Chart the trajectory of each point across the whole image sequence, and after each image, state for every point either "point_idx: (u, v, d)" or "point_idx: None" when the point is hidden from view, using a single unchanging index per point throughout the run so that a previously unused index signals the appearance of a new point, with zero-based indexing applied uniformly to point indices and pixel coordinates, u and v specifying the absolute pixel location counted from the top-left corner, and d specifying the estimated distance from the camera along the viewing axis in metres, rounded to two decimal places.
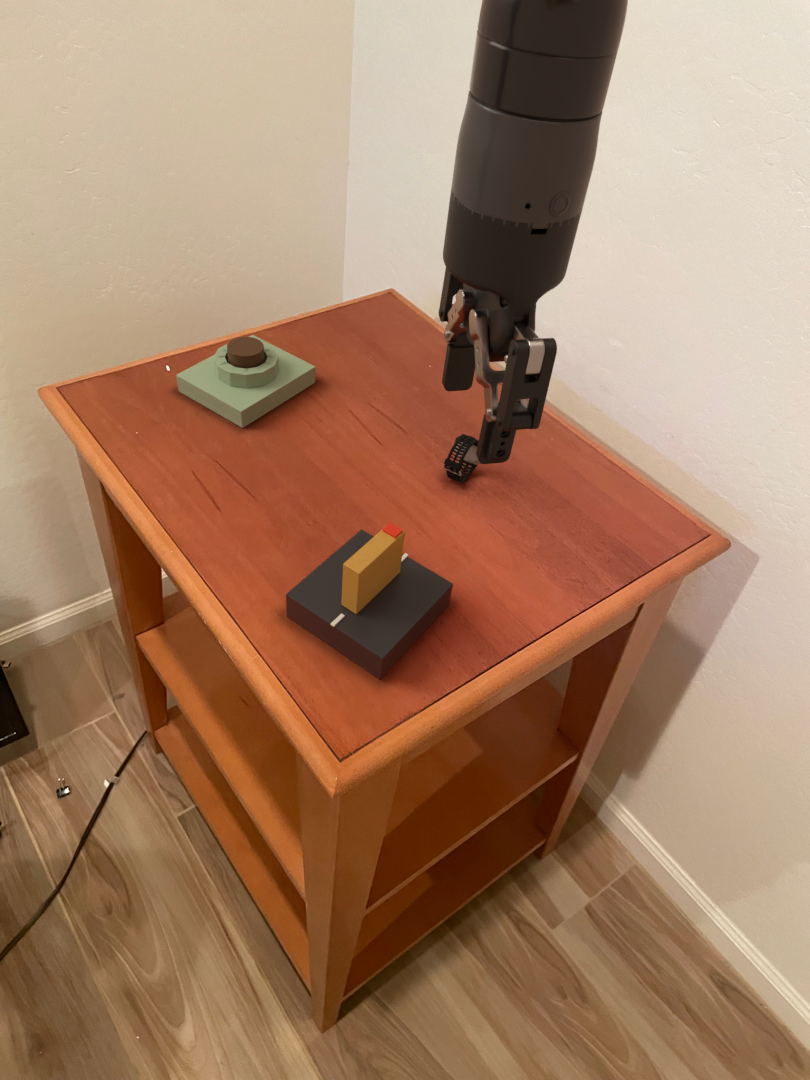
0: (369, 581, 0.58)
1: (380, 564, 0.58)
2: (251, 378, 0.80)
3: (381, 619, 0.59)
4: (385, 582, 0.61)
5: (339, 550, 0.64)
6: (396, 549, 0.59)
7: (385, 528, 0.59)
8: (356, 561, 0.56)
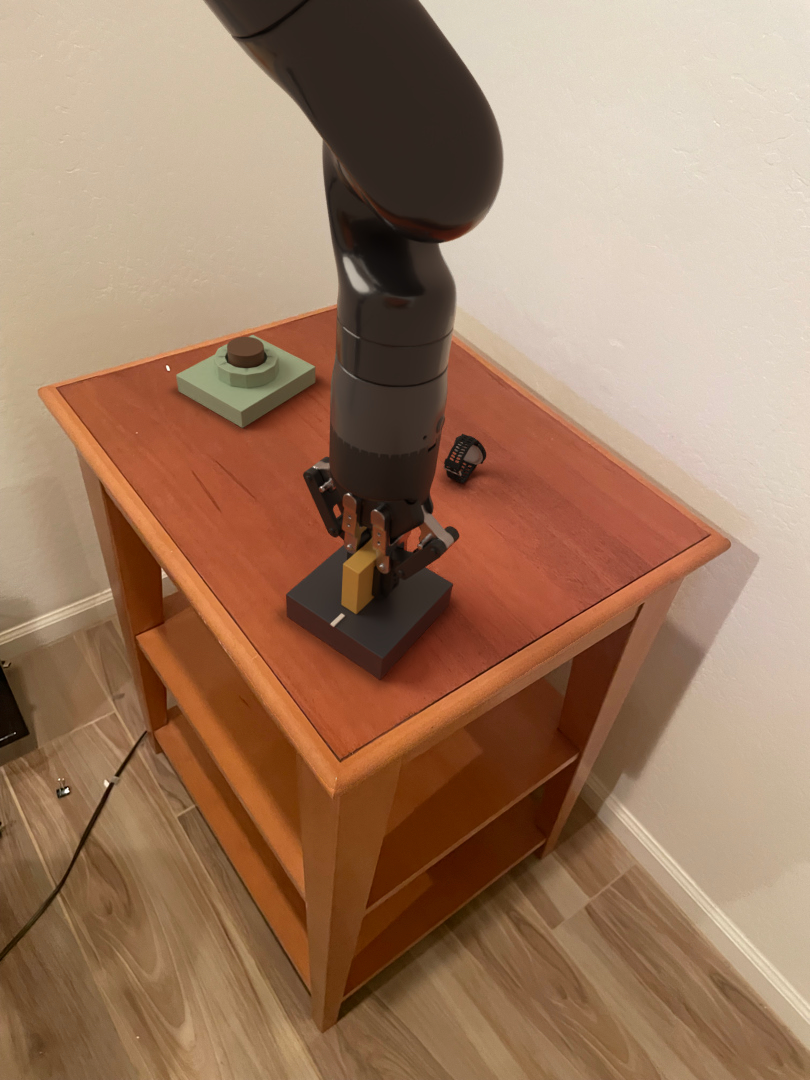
0: (369, 581, 0.58)
1: None
2: (251, 378, 0.80)
3: (381, 619, 0.59)
4: None
5: (339, 550, 0.64)
6: None
7: None
8: (356, 561, 0.56)
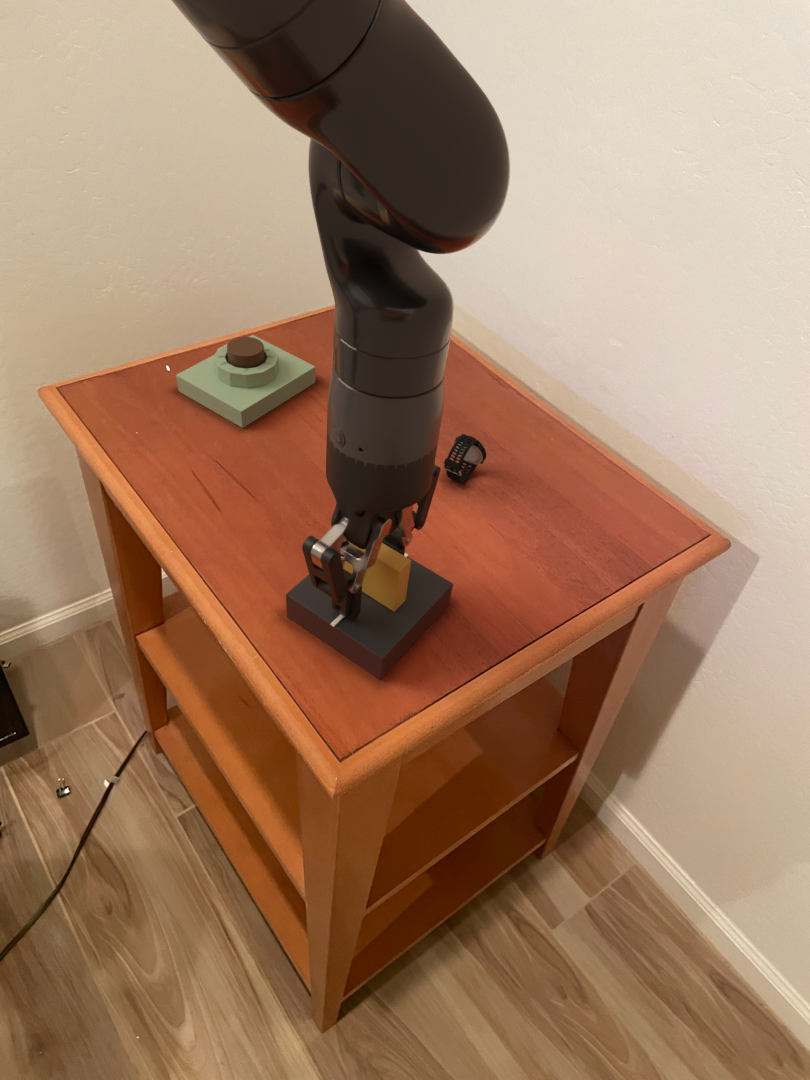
0: None
1: None
2: (251, 378, 0.80)
3: (381, 619, 0.59)
4: None
5: None
6: None
7: None
8: (395, 561, 0.57)
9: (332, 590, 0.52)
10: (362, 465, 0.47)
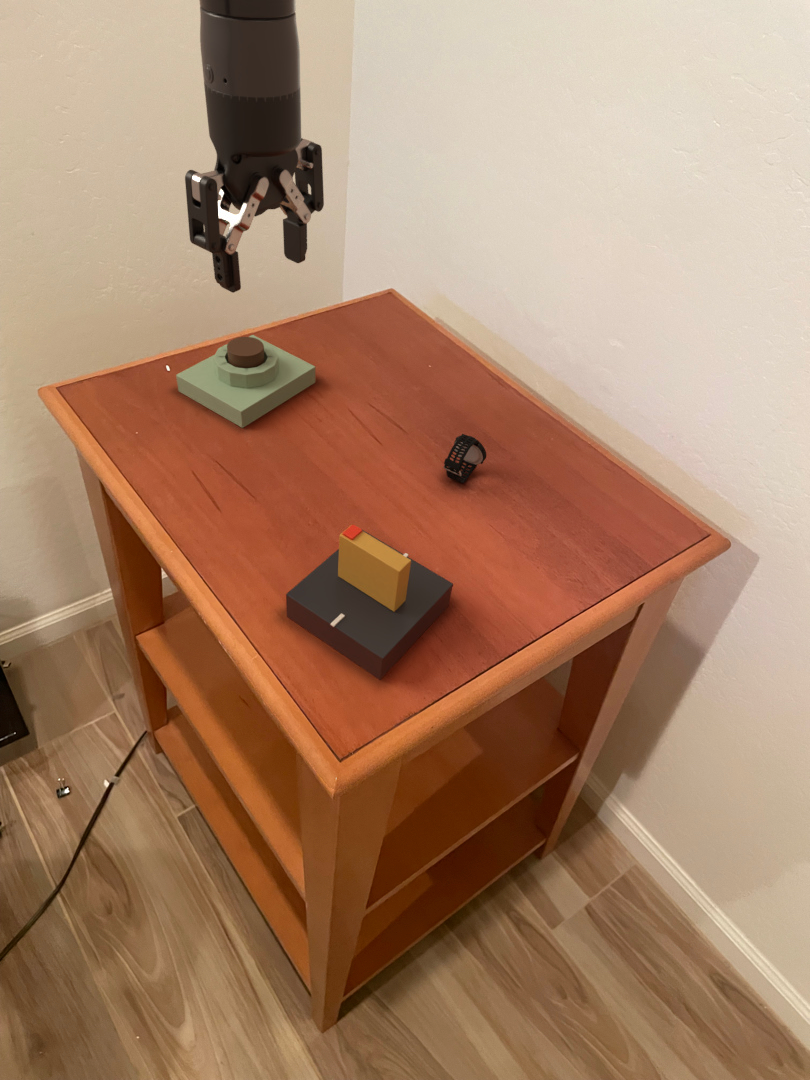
0: None
1: None
2: (251, 378, 0.80)
3: (381, 619, 0.59)
4: None
5: None
6: None
7: (351, 536, 0.58)
8: (395, 561, 0.57)
9: (206, 231, 0.60)
10: (228, 98, 0.56)
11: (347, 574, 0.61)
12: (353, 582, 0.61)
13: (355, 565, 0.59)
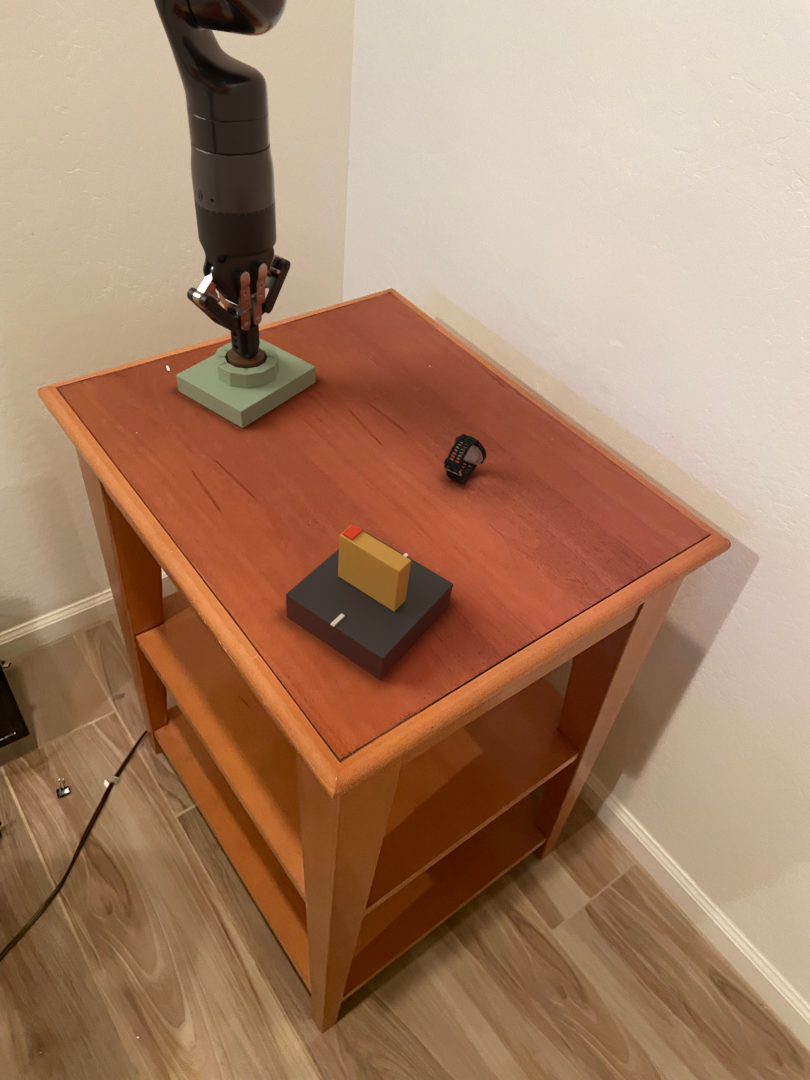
0: None
1: None
2: (251, 378, 0.80)
3: (381, 619, 0.59)
4: None
5: None
6: None
7: (351, 536, 0.58)
8: (395, 561, 0.57)
9: (222, 323, 0.75)
10: (215, 214, 0.67)
11: (347, 574, 0.61)
12: (353, 582, 0.61)
13: (355, 565, 0.59)
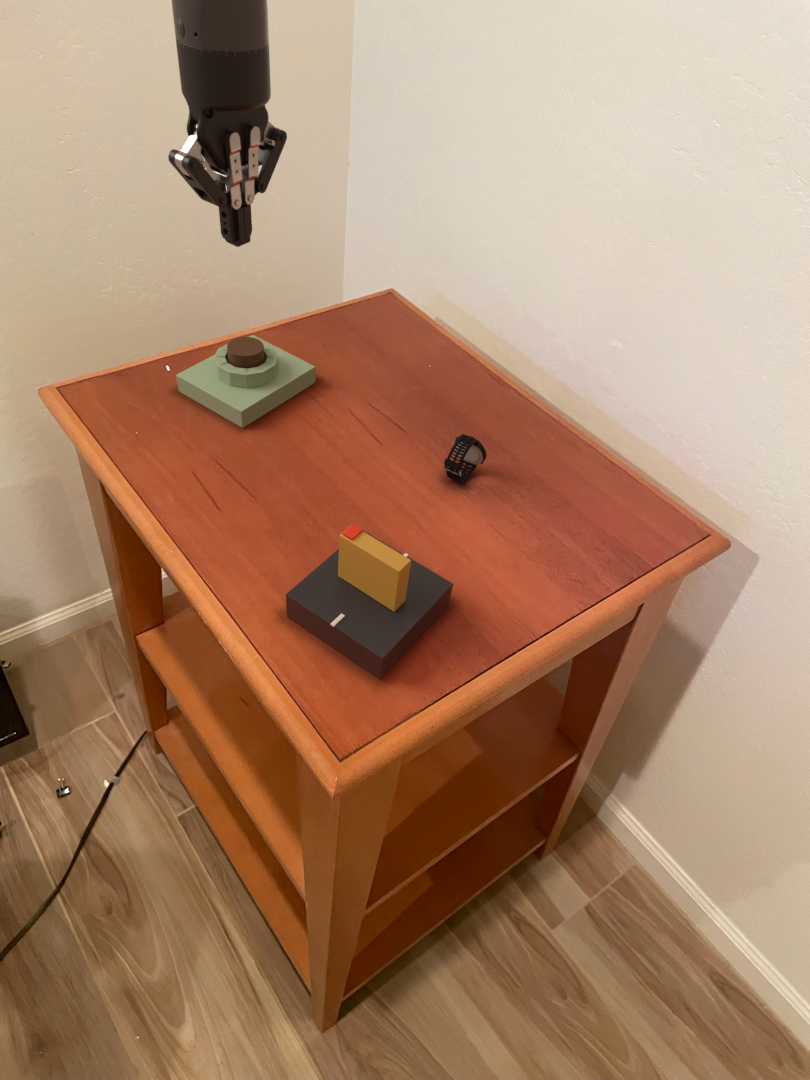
0: None
1: None
2: (251, 378, 0.80)
3: (381, 619, 0.59)
4: None
5: None
6: None
7: (351, 536, 0.58)
8: (395, 561, 0.57)
9: (209, 196, 0.66)
10: (199, 52, 0.58)
11: (347, 574, 0.61)
12: (353, 582, 0.61)
13: (355, 565, 0.59)
